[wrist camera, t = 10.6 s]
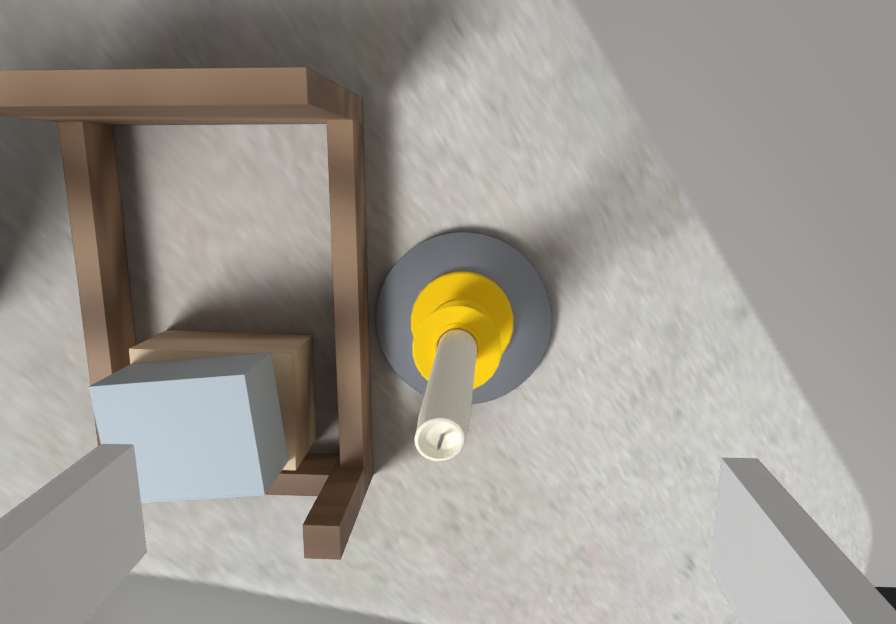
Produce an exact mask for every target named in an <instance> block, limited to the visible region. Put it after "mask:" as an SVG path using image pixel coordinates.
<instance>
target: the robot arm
mask: <svg viewBox="0 0 896 624" xmlns="http://www.w3.org/2000/svg"><path fill="white" fill-rule="evenodd" d="M146 552H147V548H146V540H145V532H144V523H143V515H142V507H141V498H140V490H139V482H138V473H137V465H136V457H135V449H134V444H100V445H99V446H98V447H96V448H95V449H94V450H92V451H91V452H90V453H88V454H87V455H86V456H84V457H83V458H81V459H80V460H79V461H77V462H76V463H75V464H73V465H72V466H71V467H69V468H68V469H67V470H65V471H64V472H63V473H61V474H60V475H58V476H57V477H56V478H54V479H53V480H52V481H50V482H49V483H48V484H46V485H45V486H44V487H42V488H41V489H39V490H38V491H37V492H35V493H34V494H33V495H31V496H30V497H29V498H27V499H26V500H25V501H23V502H22V503H21V504H19V505H18V506H16V507H15V508H14V509H12V510H11V511H10V512H8V513H7V514H6V515H4V516H3V517H2V518H0V624H85V623H86V622H87V621H88V620H89V618H90V617H91V616H92V615H93V614H94V613H95V611H96V610H97V609H98V608H99V606H101V604H102V603H103V602H104V601H105V600H106V599H107V598H108V596H109V595H110V594H111V593H112V592H113V591H114V589H115V588H116V587H117V586H118V585H119V584H120V582H121V581H122V580H123V579H124V578H125V577H126V576H127V574H128V573H129V572H130V571H131V570H132V569H133V567H134V566H135V565H136V564H137V563H138V562H139V561H140V559H141V558H142V557H143V556H144V555H145V554H146ZM710 571H711V573H712V574H713V576H714V578H715V580H716V582H717V584H718V585H719V587H720V589H721V591H722V593H723V595H724V596H725V598H726V600H727V602H728V604H729V606H730V607H731V609H732V611H733V613H734V615H735V617H736V618H737V620H738V622H739V624H896V588H895V587H894V588H893V587H874V586H873V585H872V584H871V583H870V582H869V581H868V579H867V578H866V577H865V576H864V575H863V574H862V573H861V572H860V571H859V570H858V568H857V567H856V566H855V565H854V564H853V563H852V562H851V561H850V560H849V559H848V557H847V556H846V555H845V554H844V553H843V552H842V551H841V550H840V549H839V548H838V547H837V545H836V544H835V543H834V542H833V541H832V540H831V539H830V538H829V537H828V536H827V534H826V533H825V532H824V531H823V530H822V529H821V528H820V527H819V526H818V525H817V523H816V522H815V521H814V520H813V519H812V518H811V517H810V516H809V515H808V514H807V512H806V511H805V510H804V509H803V508H802V507H801V506H800V505H799V504H798V503H797V501H796V500H795V499H794V498H793V497H792V496H791V495H790V494H789V493H788V492H787V490H786V489H785V488H784V487H783V486H782V485H781V484H780V483H779V482H778V481H777V479H776V478H775V477H774V476H773V475H772V474H771V473H770V472H769V471H768V470H767V468H766V467H765V466H764V465H763V464H762V463H761V462H760V461H759V460H758V459H757V458H721V466H720V476H719V486H718V496H717V506H716V516H715V526H714V536H713V546H712V555H711V565H710Z"/></svg>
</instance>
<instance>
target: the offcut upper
mask: <svg viewBox="0 0 896 624" xmlns="http://www.w3.org/2000/svg"><path fill="white" fill-rule="evenodd" d="M88 388H89V393H90V397H91V402H92V406H93V411H94V415H95V420H96V424H97V429H98V433H99V438H100V442H101V444H134V449H135V457H136V465H137V473H138V482H139V490H140V498H141V503H150V502H166V501H182V500H198V499H214V498H230V497H246V496H262V495H265V494H266V493H267V491H268V490H269V489H270V487H271V486H272V484H273V483H274V481H275V480H276V478H277V477H278V476H279V474H280V473H281V471H282V470H283V468H284V467H285V465H286V464H287V463H288V455H287V448H286V442H285V436H284V430H283V423H282V417H281V411H280V405H279V399H278V392H277V386H276V380H275V374H274V367H273V361H272V355H271V352H269V353H258V354H245V355H233V356H220V357H208V358H195V359H183V360H170V361H158V362H145V363H133V364H130V365H128V366H126V367H124V368H122V369H120V370H119V371H117V372H115V373H113V374H111V375H109V376H107V377H105V378H104V379H102V380H100V381H98V382H96V383H94V384H92V385H91V386H89V387H88Z"/></svg>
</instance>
